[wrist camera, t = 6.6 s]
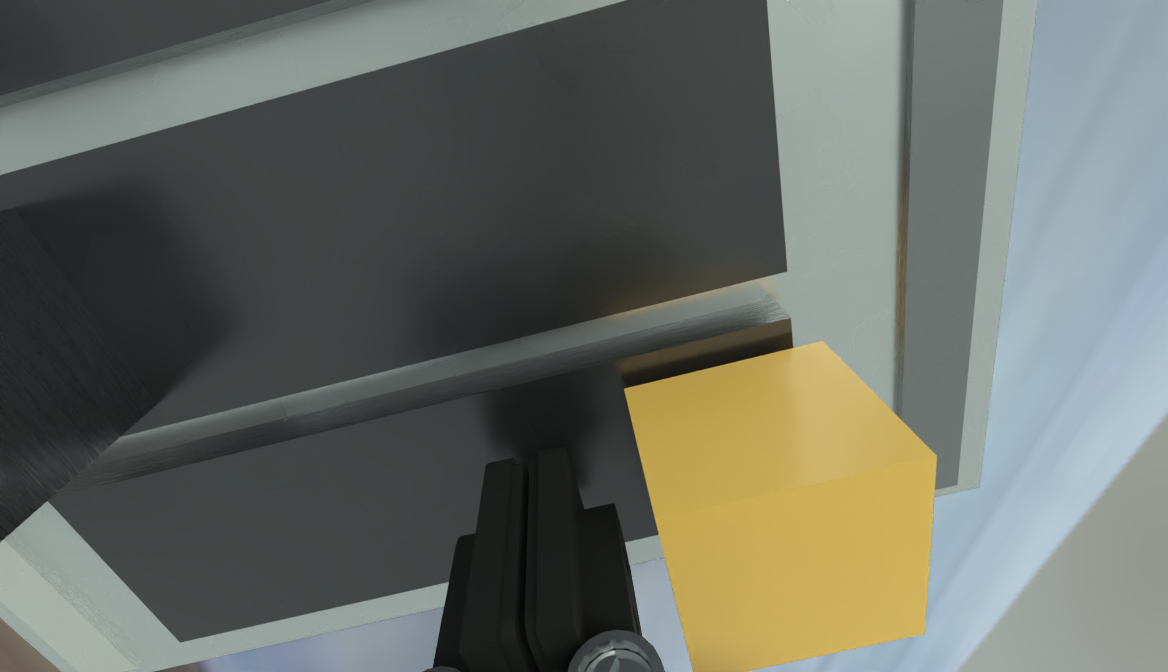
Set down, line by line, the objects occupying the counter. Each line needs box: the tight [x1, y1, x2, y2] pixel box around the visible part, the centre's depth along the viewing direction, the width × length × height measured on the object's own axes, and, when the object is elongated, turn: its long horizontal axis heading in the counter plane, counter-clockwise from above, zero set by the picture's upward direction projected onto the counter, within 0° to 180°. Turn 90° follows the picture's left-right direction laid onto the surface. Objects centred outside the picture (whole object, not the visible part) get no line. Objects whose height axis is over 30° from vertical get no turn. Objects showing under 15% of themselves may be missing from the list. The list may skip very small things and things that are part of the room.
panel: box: [0, 0, 1038, 672], centre depth 9 cm, size 26×21×6 cm
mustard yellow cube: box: [624, 341, 937, 672], centre depth 10 cm, size 4×4×4 cm
